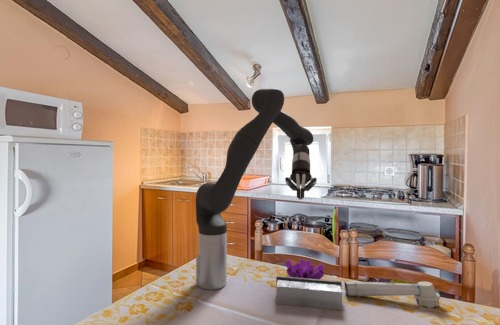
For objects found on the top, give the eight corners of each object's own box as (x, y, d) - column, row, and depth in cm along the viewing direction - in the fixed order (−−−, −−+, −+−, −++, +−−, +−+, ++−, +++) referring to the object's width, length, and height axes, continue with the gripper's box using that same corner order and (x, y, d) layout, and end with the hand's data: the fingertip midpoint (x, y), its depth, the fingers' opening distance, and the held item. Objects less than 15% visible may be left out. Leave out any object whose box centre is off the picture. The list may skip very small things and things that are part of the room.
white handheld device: (343, 278, 89) (433, 276, 83) (346, 299, 89) (436, 299, 83) (344, 285, 84) (440, 283, 78) (348, 308, 84) (444, 308, 78)
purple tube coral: (308, 282, 102) (324, 262, 101) (309, 302, 88) (329, 280, 87) (283, 262, 104) (299, 242, 103) (280, 278, 89) (299, 256, 88)
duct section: (274, 303, 81) (274, 283, 81) (276, 293, 86) (276, 275, 86) (343, 310, 77) (343, 290, 77) (341, 300, 83) (341, 281, 83)
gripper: (284, 158, 118) (282, 191, 106) (317, 159, 115) (318, 192, 103) (285, 171, 123) (283, 203, 111) (316, 171, 120) (317, 204, 108)
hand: (300, 198), depth 107 cm, fingers closed
